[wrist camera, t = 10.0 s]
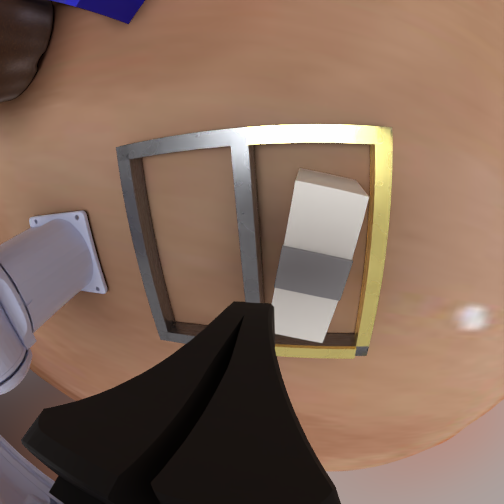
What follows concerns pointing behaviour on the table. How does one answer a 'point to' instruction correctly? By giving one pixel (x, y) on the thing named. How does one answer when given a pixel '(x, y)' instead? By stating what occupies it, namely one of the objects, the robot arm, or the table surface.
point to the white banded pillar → (316, 252)
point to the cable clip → (108, 7)
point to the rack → (249, 224)
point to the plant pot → (22, 42)
